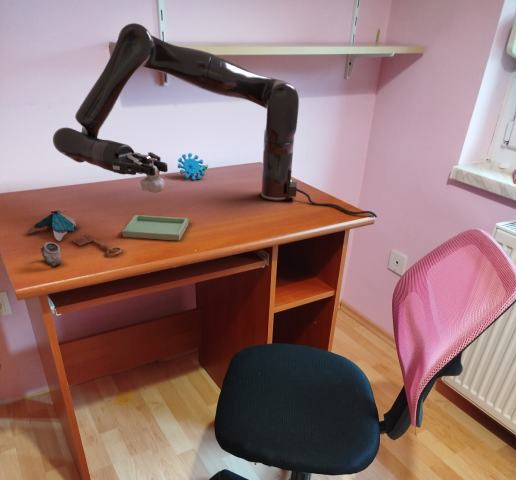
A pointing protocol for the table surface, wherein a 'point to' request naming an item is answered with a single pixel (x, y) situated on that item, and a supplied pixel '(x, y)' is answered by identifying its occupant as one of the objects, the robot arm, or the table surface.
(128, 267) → the table surface
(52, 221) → the decorative butterfly
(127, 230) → the tray
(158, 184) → the white plastic figurine
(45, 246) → the grey round container
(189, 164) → the blue virus model
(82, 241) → the key
